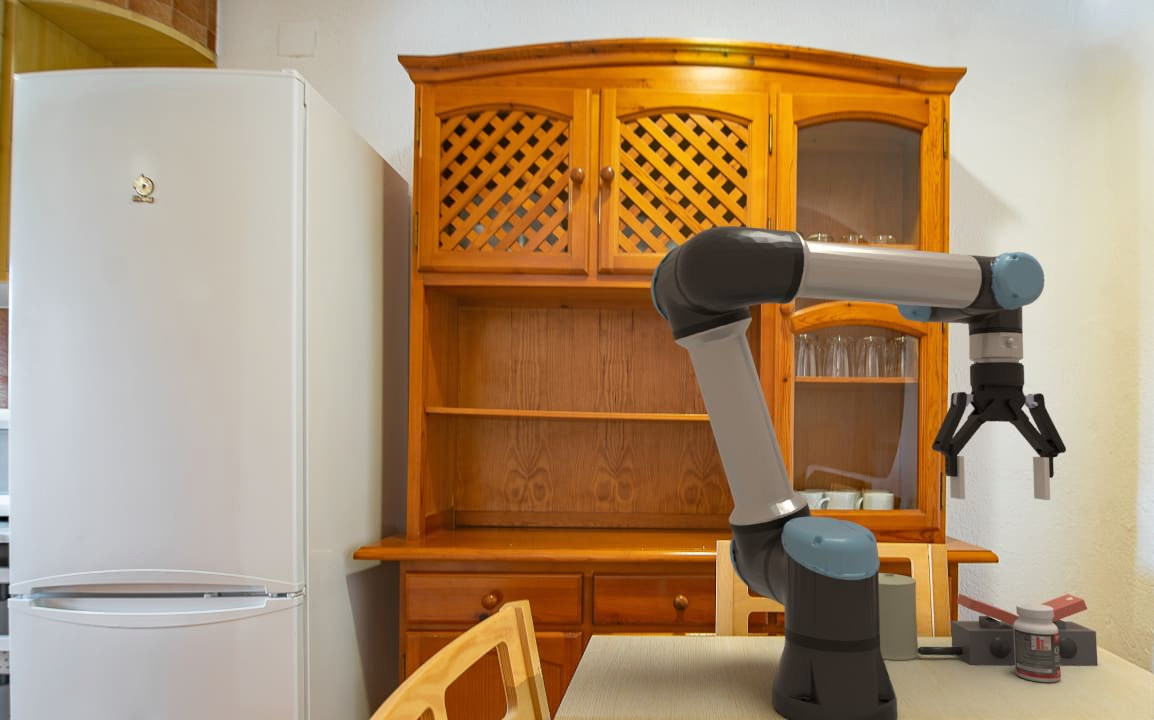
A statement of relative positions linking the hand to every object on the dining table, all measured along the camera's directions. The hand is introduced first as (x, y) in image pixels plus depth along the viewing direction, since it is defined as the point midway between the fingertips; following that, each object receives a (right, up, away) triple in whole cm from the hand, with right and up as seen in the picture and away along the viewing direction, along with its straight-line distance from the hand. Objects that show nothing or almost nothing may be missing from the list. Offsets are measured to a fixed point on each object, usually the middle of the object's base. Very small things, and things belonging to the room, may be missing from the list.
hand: (1000, 499), depth 123 cm
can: (-16, -25, +3) cm, 30 cm away
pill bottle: (+1, -24, -9) cm, 26 cm away
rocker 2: (+8, -17, 0) cm, 19 cm away
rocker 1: (-2, -17, 0) cm, 17 cm away
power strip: (0, -25, -1) cm, 25 cm away
